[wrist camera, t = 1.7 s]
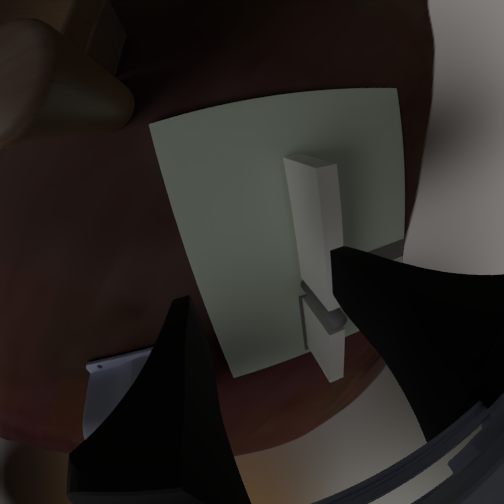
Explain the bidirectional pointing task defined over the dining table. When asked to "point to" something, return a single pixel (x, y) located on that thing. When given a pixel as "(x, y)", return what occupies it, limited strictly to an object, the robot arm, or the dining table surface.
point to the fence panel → (315, 220)
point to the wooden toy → (60, 70)
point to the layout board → (277, 204)
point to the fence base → (324, 334)
